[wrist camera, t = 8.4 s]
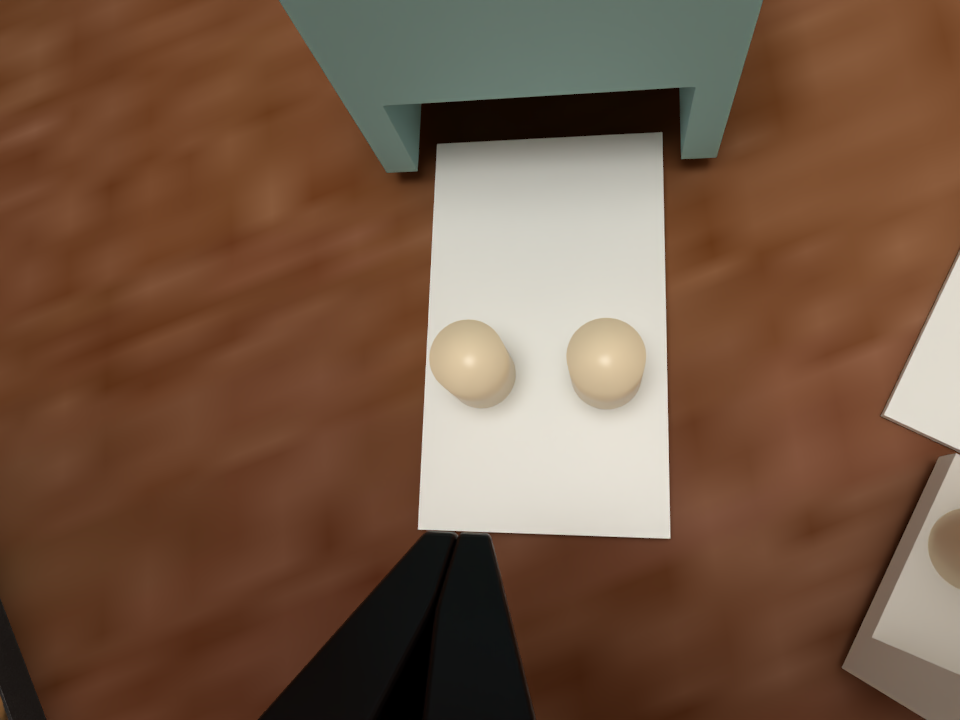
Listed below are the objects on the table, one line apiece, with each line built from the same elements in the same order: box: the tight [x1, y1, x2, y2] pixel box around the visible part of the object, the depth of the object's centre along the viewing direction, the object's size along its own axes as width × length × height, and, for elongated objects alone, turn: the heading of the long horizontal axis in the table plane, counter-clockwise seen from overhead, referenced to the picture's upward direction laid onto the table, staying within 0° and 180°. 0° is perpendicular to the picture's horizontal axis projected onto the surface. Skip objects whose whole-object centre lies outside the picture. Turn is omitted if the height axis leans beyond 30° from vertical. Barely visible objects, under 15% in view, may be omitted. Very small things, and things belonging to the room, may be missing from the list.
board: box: [418, 132, 670, 539], centre depth 21 cm, size 12×7×3 cm, turn 178°
